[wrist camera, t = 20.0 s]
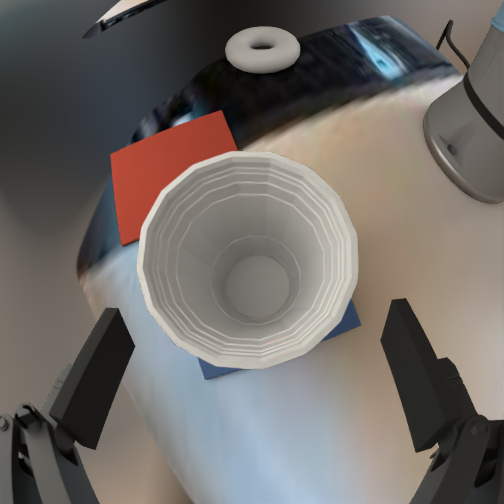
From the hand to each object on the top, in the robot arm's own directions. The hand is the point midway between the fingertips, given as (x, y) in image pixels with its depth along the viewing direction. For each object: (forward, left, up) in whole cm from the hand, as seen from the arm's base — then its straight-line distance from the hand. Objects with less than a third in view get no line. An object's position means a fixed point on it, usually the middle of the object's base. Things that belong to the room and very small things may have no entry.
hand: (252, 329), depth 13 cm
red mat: (-11, -14, -11) cm, 21 cm away
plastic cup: (-3, -2, -11) cm, 12 cm away
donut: (-32, -12, -11) cm, 36 cm away
